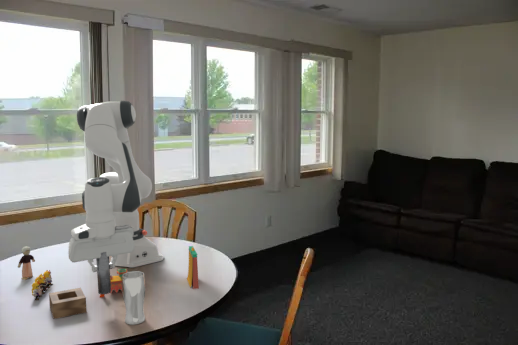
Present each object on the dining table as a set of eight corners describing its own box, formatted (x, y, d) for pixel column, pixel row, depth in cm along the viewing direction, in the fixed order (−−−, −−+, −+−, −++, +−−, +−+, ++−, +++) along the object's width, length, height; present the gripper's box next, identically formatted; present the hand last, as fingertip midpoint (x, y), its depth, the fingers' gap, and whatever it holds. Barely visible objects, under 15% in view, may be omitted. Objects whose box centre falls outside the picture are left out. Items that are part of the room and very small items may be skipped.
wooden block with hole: (81, 301, 162) (80, 287, 161) (86, 312, 154) (85, 297, 153) (49, 307, 157) (48, 293, 156) (53, 319, 149) (52, 303, 148)
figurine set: (28, 301, 162) (27, 283, 161) (45, 284, 178) (43, 267, 178) (39, 301, 163) (38, 283, 162) (54, 284, 179) (53, 267, 178)
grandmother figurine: (25, 281, 181) (23, 249, 179) (17, 280, 182) (14, 248, 180) (38, 274, 188) (36, 243, 187) (30, 273, 189) (28, 243, 188)
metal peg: (109, 288, 157) (107, 248, 155) (112, 292, 153) (110, 251, 151) (97, 291, 155) (94, 250, 153) (99, 295, 151) (97, 253, 149)
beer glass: (125, 316, 151) (124, 271, 149) (147, 315, 151) (146, 270, 149) (121, 326, 144) (119, 278, 142) (144, 325, 144) (142, 278, 142)
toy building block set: (198, 288, 174) (198, 251, 172) (99, 299, 164) (97, 260, 162) (193, 277, 186) (192, 242, 184) (100, 286, 176) (98, 250, 174)
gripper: (130, 222, 159) (132, 261, 161) (65, 231, 148) (68, 272, 150) (135, 226, 153) (137, 266, 155) (69, 235, 143) (72, 279, 145)
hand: (103, 269), depth 153 cm, fingers closed on metal peg, 4 cm apart
